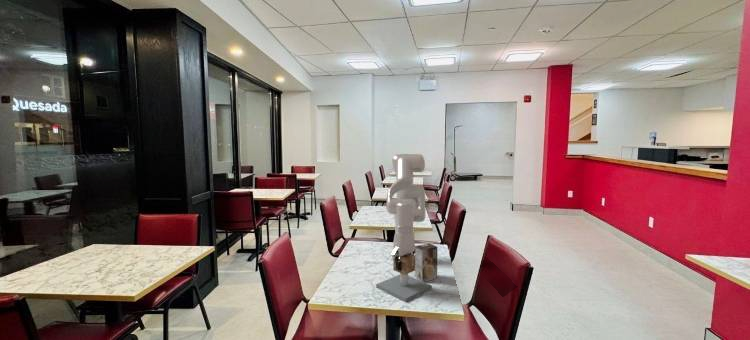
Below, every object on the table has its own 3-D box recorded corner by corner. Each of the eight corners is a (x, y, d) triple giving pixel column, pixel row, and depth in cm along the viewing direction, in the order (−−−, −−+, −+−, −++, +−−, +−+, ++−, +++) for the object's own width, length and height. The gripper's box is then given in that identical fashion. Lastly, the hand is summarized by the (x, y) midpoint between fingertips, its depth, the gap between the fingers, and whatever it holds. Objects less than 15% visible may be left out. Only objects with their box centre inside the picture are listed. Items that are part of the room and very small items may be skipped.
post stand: (402, 276, 154) (402, 255, 153) (432, 288, 141) (432, 266, 140) (376, 287, 142) (376, 265, 141) (405, 302, 129) (405, 277, 128)
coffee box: (429, 273, 157) (430, 242, 156) (437, 278, 151) (438, 246, 150) (414, 277, 153) (414, 245, 152) (422, 282, 147) (422, 249, 146)
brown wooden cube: (403, 266, 146) (403, 251, 145) (415, 270, 141) (415, 255, 140) (393, 270, 141) (393, 255, 140) (404, 274, 136) (404, 259, 135)
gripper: (411, 224, 148) (410, 260, 149) (384, 231, 136) (384, 270, 138) (423, 227, 142) (422, 265, 144) (397, 234, 131) (397, 275, 132)
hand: (404, 267), depth 141 cm, fingers closed on brown wooden cube, 6 cm apart
